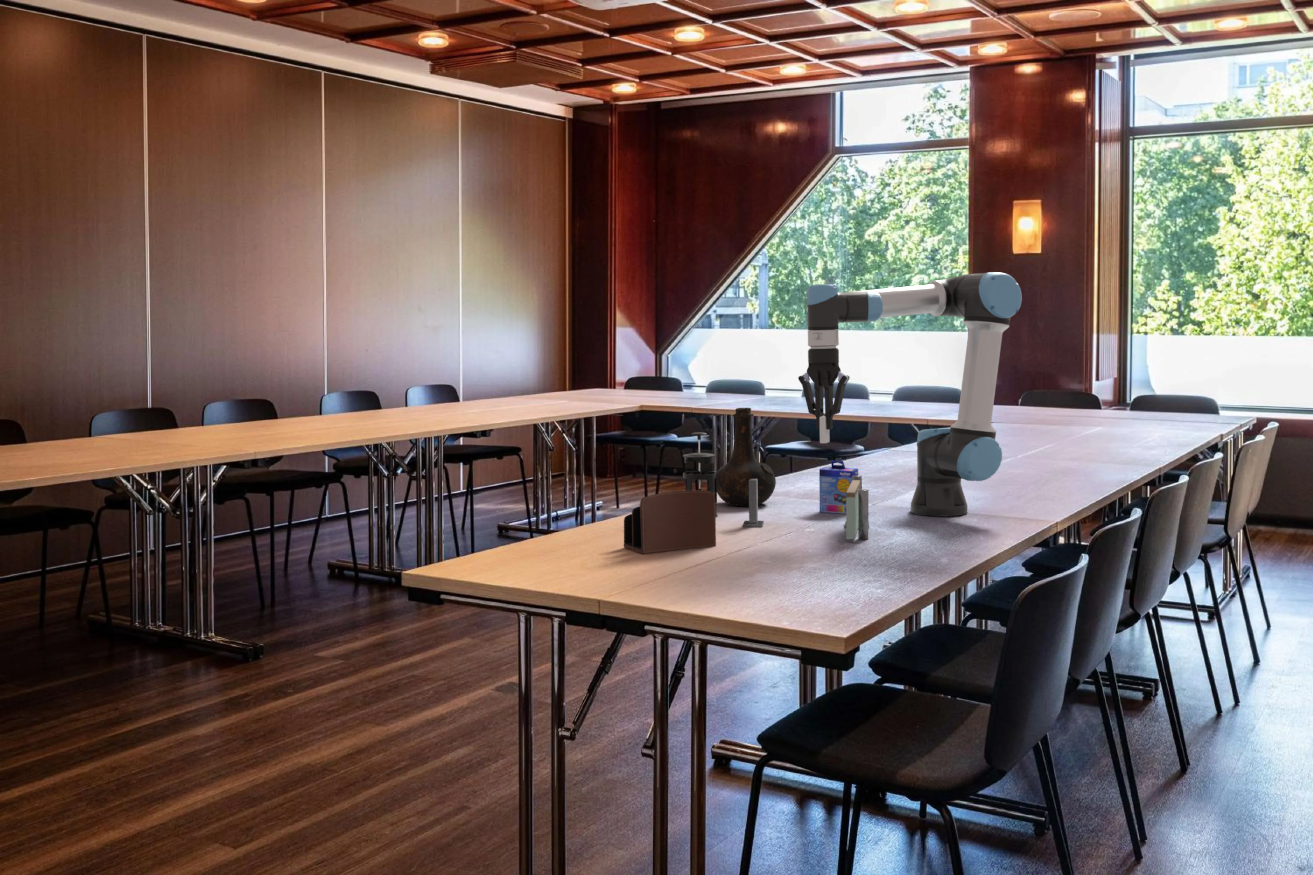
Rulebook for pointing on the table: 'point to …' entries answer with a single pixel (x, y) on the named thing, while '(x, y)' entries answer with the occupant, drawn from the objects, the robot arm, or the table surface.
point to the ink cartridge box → (835, 487)
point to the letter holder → (672, 522)
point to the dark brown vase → (744, 467)
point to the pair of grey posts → (862, 521)
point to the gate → (852, 509)
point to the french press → (701, 475)
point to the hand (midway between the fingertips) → (824, 442)
